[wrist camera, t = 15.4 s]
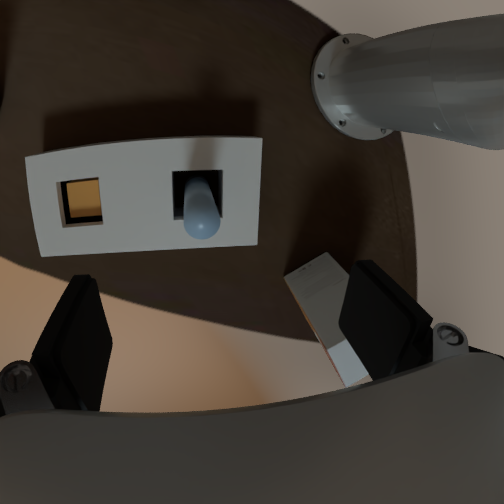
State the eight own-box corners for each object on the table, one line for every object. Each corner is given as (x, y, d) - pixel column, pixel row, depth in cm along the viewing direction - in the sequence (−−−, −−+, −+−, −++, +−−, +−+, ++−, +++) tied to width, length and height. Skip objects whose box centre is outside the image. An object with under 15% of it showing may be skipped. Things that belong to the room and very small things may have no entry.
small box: (281, 276, 35) (325, 350, 24) (326, 250, 35) (386, 311, 23) (305, 318, 39) (346, 389, 27) (344, 295, 39) (395, 358, 27)
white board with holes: (252, 136, 27) (262, 138, 24) (248, 230, 32) (257, 244, 28) (43, 151, 23) (25, 157, 19) (55, 241, 27) (41, 256, 24)
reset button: (103, 175, 25) (98, 179, 23) (106, 208, 27) (101, 215, 25) (73, 179, 25) (66, 183, 23) (77, 211, 26) (70, 217, 24)
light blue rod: (208, 174, 28) (220, 203, 18) (208, 197, 29) (220, 238, 20) (184, 175, 28) (182, 205, 18) (184, 198, 29) (184, 240, 19)
